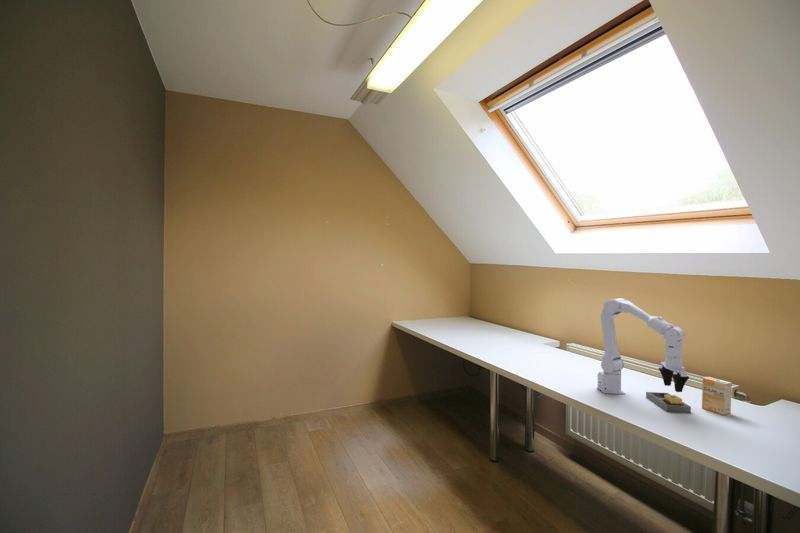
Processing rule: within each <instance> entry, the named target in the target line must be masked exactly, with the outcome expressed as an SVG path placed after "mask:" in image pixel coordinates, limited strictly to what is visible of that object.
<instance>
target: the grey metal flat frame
mask: <svg viewBox="0 0 800 533" xmlns="http://www.w3.org/2000/svg"><path fill="white" fill-rule="evenodd" d="M664 395H671V394H670V393H669V392H655V391H654V392H653V391H652V392H651V391H646V392H645V398H646V399H647V400H649V401H650V402H652V403H653V404H654V405H656V406H658V407H659V408H661V409H662V410H663V411H665V412H667V413H684V414H685V413H687V414H691V412H692V408H691V407H692V406H690V405H689V404H687V403H685V402H683V401H682V405H669V404H667V403H666V402H664Z"/></svg>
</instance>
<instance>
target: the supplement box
mask: <svg viewBox="0 0 800 533" xmlns="http://www.w3.org/2000/svg"><path fill="white" fill-rule="evenodd" d="M732 384H733V383H732V382H731V381H727V380H722V379H719V378H715V377H711V376H704V377H702V392H701V393H702V394H701V396H702V398H701V409H702V410H706V411H710V412H712V413H716V414H719V415H721V416H728V415H731V411H732V409H731V408H732V407H731V406H732V387H733V385H732Z"/></svg>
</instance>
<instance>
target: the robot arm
mask: <svg viewBox="0 0 800 533" xmlns="http://www.w3.org/2000/svg"><path fill="white" fill-rule="evenodd" d="M622 313H629V314H631V315H633V316H634V317H636V318H638V319H640V320H641V321H644V322H645V323H646V325H647V327H648V328H650V329H651V330H653V331H655V332H656V333H658V334H659V335H661V336H662V337H663V339H664V340H665V351H664V352H665V353H664V356H665V357H664V358H665V359H664V361H660V367H659V368H658V370H659V372H660V374H661V377H662V381H663V384H664V386H667V387H669V386H670V387H671V385H672V382H673V384H674V385H673V386H674V391H675V392H676V393H682V392H683V390H684V386H685V384H686V383H687V381H688V380H689V379H690V376H689V375H688V371H686V370H685V369H686V368H685V367H684V366H683V340H684V338H685V336H686V332H685V331H684V329H683V328H682V327H680V326H674V324H673V323H669V322H667V321H666V320H664V319H663V318H664V317H662V316H657V315H654V316H652V315H651V314H649V313H647V312H646V311H644V310H643V309H641V308H640V307H638V306H636V305H635V304H634V303H632V301H629V300H627V299H626V298H623V297H619V298H610V299H607V301H605V302H604V303H603V308H602V311H601V313H600V320H601V329H602V330H601V331H602V340H603V346H604V348H603V349H604V352H603V354H602V356H601V358H602V360H601V363H600V366H601V370H602V371H598V373H597V386H596V389H598V390H599V391H600V390H601V391H600V392H601V393H603V394H615V395H616V394H617V395H625V394H626V393H625V392H624V391H623V390H622V370H623V369H624V367H625V362H624V361H623V359H622V355H621V354H620V352H619V350H618V341H617V334H616V333H617V332H616V324H615V319H616V318H617V316H618V315H619V314H622ZM672 380H673V381H672Z"/></svg>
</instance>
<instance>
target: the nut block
mask: <svg viewBox="0 0 800 533" xmlns="http://www.w3.org/2000/svg"><path fill="white" fill-rule="evenodd" d="M664 402H666V403H667V404H669V405H682V402H683V399H682V397H679V396H678V395H676V394H670V395H664Z"/></svg>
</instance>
